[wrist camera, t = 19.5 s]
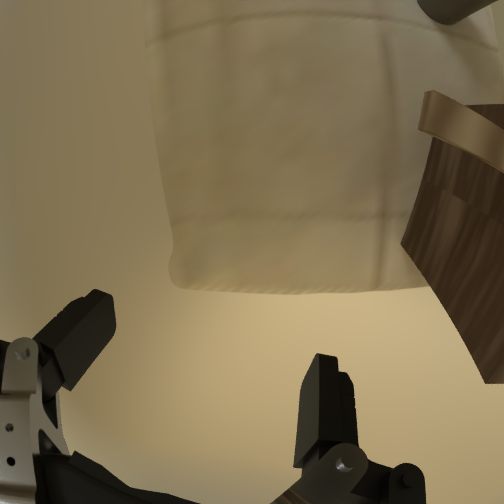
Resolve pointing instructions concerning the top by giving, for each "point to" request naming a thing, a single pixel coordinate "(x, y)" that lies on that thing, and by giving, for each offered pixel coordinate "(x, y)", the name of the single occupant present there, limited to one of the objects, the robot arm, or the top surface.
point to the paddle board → (462, 128)
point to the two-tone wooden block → (464, 244)
